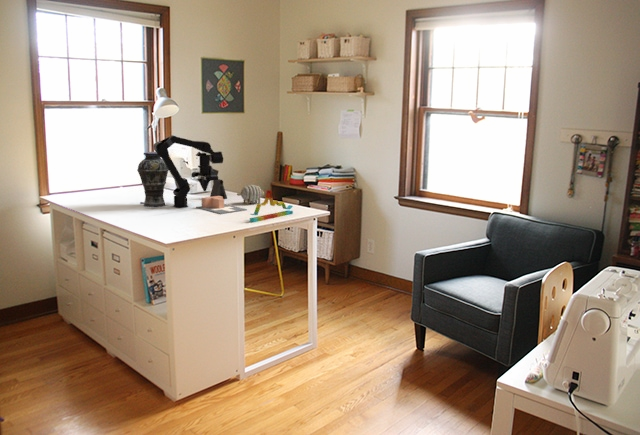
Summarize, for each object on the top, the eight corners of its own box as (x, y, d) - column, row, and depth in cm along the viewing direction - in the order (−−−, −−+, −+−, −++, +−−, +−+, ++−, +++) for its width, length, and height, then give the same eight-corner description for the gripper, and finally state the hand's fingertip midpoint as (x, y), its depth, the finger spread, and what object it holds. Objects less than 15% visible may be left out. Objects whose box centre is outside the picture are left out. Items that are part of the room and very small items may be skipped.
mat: (220, 214, 322) (220, 213, 322) (196, 207, 337) (196, 206, 337) (247, 210, 334) (247, 209, 334) (222, 204, 350) (222, 203, 350)
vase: (132, 206, 338) (130, 152, 332) (153, 201, 353) (152, 150, 347) (154, 209, 331) (152, 154, 325) (175, 204, 346) (174, 152, 340)
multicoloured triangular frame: (288, 213, 330) (288, 186, 327) (292, 214, 328) (293, 187, 325) (249, 221, 306) (249, 192, 303) (253, 222, 304) (254, 193, 301)
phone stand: (215, 200, 362) (215, 180, 360) (209, 199, 366) (209, 179, 364) (227, 198, 369) (227, 179, 366) (221, 197, 373) (221, 178, 370)
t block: (212, 209, 331) (212, 200, 330) (201, 206, 339) (201, 197, 338) (230, 206, 340) (230, 198, 339) (219, 204, 347) (219, 195, 346)
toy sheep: (267, 203, 355) (267, 185, 353) (242, 206, 346) (241, 187, 344) (259, 200, 364) (259, 182, 362) (234, 203, 355) (233, 184, 352)
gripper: (226, 164, 341) (226, 191, 344) (206, 161, 354) (207, 187, 357) (209, 165, 333) (209, 193, 336) (190, 162, 346) (191, 189, 349)
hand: (204, 191), depth 345 cm, fingers closed
